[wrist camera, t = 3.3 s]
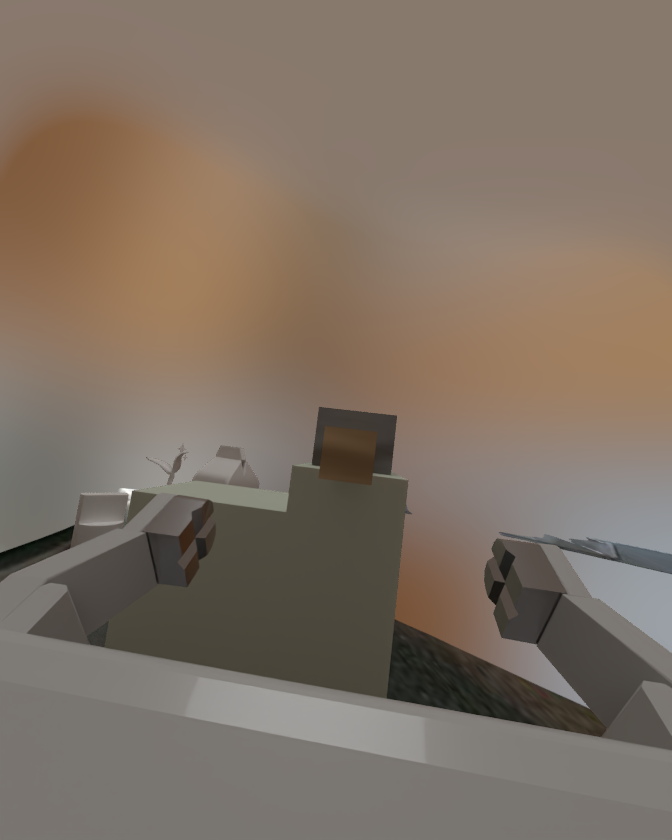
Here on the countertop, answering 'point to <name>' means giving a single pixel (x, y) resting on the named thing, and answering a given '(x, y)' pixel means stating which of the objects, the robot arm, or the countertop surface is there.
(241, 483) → the milk
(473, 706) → the countertop surface
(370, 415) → the mallet
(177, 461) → the potted plant
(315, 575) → the block
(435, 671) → the countertop surface
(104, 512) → the cylinder with rectangular tab
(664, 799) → the robot arm
